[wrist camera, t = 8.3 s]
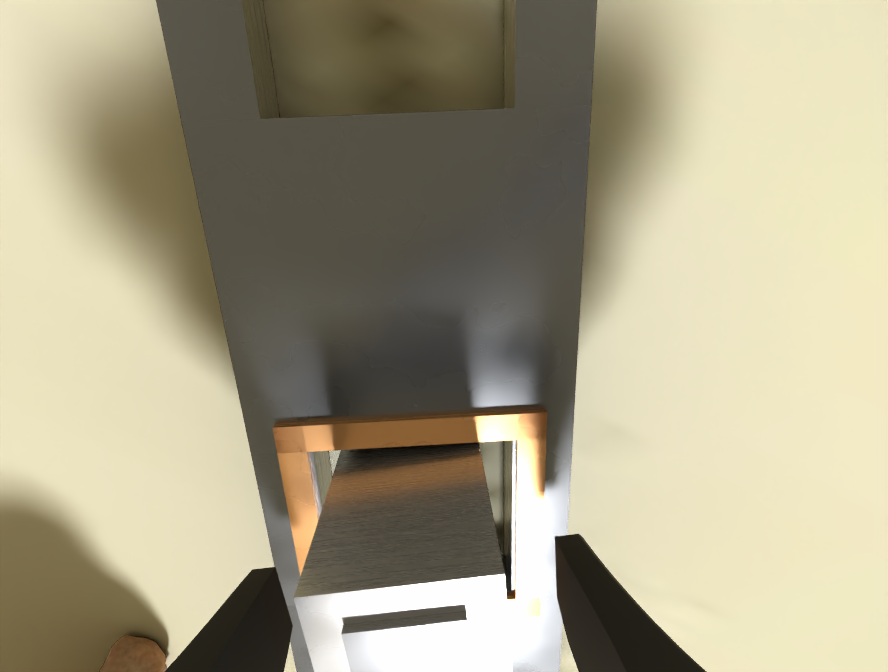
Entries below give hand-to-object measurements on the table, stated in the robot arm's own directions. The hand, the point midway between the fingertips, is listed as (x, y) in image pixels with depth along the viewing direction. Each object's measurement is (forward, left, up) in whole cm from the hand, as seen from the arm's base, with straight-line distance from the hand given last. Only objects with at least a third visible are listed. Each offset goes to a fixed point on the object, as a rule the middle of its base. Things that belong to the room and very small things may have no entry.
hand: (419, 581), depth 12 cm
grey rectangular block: (0, 0, -4) cm, 4 cm away
